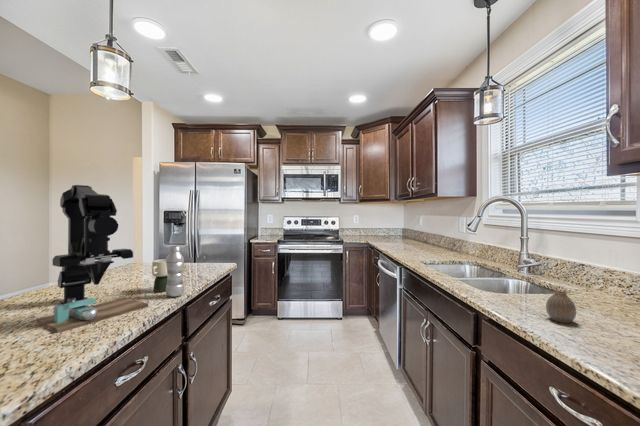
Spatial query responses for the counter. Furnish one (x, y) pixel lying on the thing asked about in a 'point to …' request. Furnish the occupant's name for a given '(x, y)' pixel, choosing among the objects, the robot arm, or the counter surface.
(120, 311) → the board
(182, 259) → the plastic bottle
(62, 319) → the keeper
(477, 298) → the counter surface
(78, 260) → the robot arm
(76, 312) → the link
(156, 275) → the character mug
